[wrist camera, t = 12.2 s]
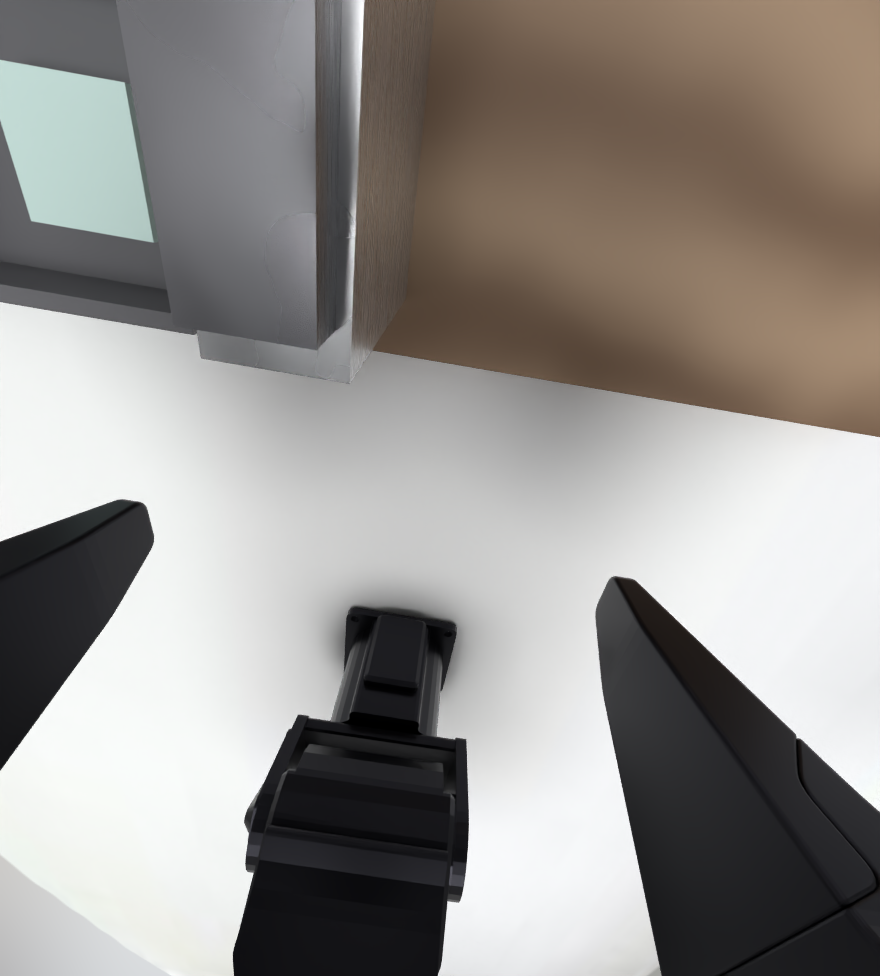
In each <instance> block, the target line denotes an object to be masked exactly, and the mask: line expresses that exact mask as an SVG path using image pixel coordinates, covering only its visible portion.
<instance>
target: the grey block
mask: <svg viewBox="0 0 880 976" xmlns="http://www.w3.org/2000/svg"><path fill="white" fill-rule="evenodd" d="M435 1H436V0H116V4H117V10H118V16H119V21H120V27H121V33H122V38H123V44H124V50H125V55H126V61H127V67H128V72H129V78H130V84H131V89H132V95H133V100H134V106H135V112H136V117H137V123H138V129H139V134H140V140H141V146H142V151H143V157H144V163H145V168H146V174H147V180H148V185H149V191H150V196H151V202H152V208H153V213H154V219H155V225H156V230H157V236H158V242H159V247H160V253H161V259H162V264H163V270H164V276H165V281H166V287H167V292H168V298H169V304H170V309H171V315H172V321H173V326H177V327H183V328H189V329H195V330H197V334H198V341H199V347H200V354H201V358H202V359H208V360H214V361H220V362H226V363H231V364H237V365H243V366H249V367H255V368H261V369H267V370H273V371H278V372H284V373H290V374H296V375H302V376H308V377H314V378H319V379H325V380H331V381H337V382H343V383H349V384H350V382H351V381H352V379H353V378H354V376H355V375H356V373H357V372H358V370H359V369H360V367H361V366H362V364H363V363H364V361H365V360H366V358H367V357H368V355H369V354H370V352H371V351H372V349H373V348H374V346H375V345H376V343H377V342H378V340H379V339H380V337H381V336H382V334H383V333H384V331H385V330H386V328H387V327H388V325H389V324H390V322H391V321H392V319H393V317H394V316H395V314H396V313H397V311H398V310H399V308H400V307H401V305H402V304H403V302H404V301H405V299H406V292H407V282H408V272H409V262H410V252H411V242H412V232H413V222H414V212H415V202H416V192H417V182H418V172H419V162H420V152H421V141H422V131H423V121H424V111H425V101H426V91H427V81H428V71H429V61H430V51H431V41H432V31H433V21H434V11H435Z"/></svg>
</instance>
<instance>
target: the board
mask: <svg viewBox="0 0 880 976" xmlns="http://www.w3.org/2000/svg"><path fill="white" fill-rule="evenodd" d="M372 350H373V351H379V352H385V353H390V354H396V355H402V356H408V357H414V358H420V359H426V360H431V361H437V362H443V363H449V364H455V365H461V366H467V367H472V368H478V369H484V370H490V371H496V372H502V373H508V374H513V375H519V376H525V377H531V378H537V379H543V380H549V381H554V382H560V383H566V384H572V385H578V386H584V387H590V388H595V389H601V390H607V391H613V392H619V393H625V394H631V395H636V396H642V397H648V398H654V399H660V400H666V401H672V402H677V403H683V404H689V405H695V406H701V407H707V408H713V409H718V410H724V411H730V412H736V413H742V414H748V415H754V416H759V417H765V418H771V419H777V420H783V421H789V422H794V423H800V424H806V425H812V426H818V427H824V428H830V429H835V430H841V431H847V432H853V433H859V434H865V435H871V436H876V437H880V0H436V1H435V11H434V21H433V31H432V41H431V51H430V61H429V71H428V81H427V91H426V101H425V111H424V121H423V131H422V141H421V152H420V162H419V172H418V182H417V192H416V202H415V212H414V222H413V232H412V242H411V252H410V262H409V272H408V282H407V292H406V299H405V301H404V302H403V304H402V305H401V307H400V308H399V310H398V311H397V313H396V314H395V316H394V317H393V319H392V321H391V322H390V324H389V325H388V327H387V328H386V330H385V331H384V333H383V334H382V336H381V337H380V339H379V340H378V342H377V343H376V345H375V346H374V348H373V349H372Z"/></svg>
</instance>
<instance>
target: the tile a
mask: <svg viewBox="0 0 880 976" xmlns="http://www.w3.org/2000/svg"><path fill="white" fill-rule="evenodd" d="M0 121H1V124H2V128H3V131H4V134H5V137H6V141H7V144H8V147H9V150H10V154H11V157H12V160H13V163H14V167H15V170H16V173H17V176H18V180H19V183H20V186H21V189H22V193H23V196H24V199H25V202H26V206H27V209H28V212H29V215H30V219H31V221H34V222H39V223H45V224H51V225H57V226H62V227H68V228H74V229H79V230H85V231H91V232H96V233H102V234H108V235H113V236H119V237H125V238H130V239H136V240H142V241H147V242H153V243H154V242H158V236H157V230H156V225H155V219H154V213H153V208H152V202H151V196H150V191H149V185H148V180H147V174H146V168H145V163H144V157H143V151H142V146H141V140H140V134H139V129H138V123H137V117H136V112H135V106H134V100H133V95H132V89H131V84H128V83H125V82H119V81H114V80H108V79H103V78H97V77H92V76H86V75H81V74H75V73H70V72H64V71H59V70H53V69H48V68H42V67H37V66H31V65H26V64H20V63H15V62H9V61H4V60H0Z"/></svg>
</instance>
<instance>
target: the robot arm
mask: <svg viewBox="0 0 880 976" xmlns="http://www.w3.org/2000/svg"><path fill="white" fill-rule="evenodd" d="M153 543H154V534H153V530H152V526H151V522H150V518H149V514H148V510H147V507H146V506H145V505H144V504H143V503H141V502H137V501H131V500H125V499H120V500H116V501H113V502H110V503H107V504H104V505H102V506H99V507H96V508H93V509H90V510H88V511H85V512H82V513H79V514H76V515H74V516H71V517H68V518H65V519H62V520H60V521H57V522H54V523H51V524H48V525H46V526H43V527H40V528H37V529H34V530H31V531H29V532H26V533H23V534H20V535H17V536H15V537H12V538H9V539H6V540H3V541H1V542H0V770H1V769H2V768H3V766H4V765H5V764H6V762H7V761H8V759H9V758H10V757H11V755H12V754H13V753H14V751H15V750H16V748H17V747H18V746H19V744H20V743H21V742H22V740H23V739H24V737H25V736H26V735H27V733H28V732H29V730H30V729H31V728H32V726H33V725H34V724H35V722H36V721H37V719H38V718H39V717H40V715H41V714H42V713H43V711H44V710H45V708H46V707H47V706H48V704H49V703H50V702H51V700H52V699H53V697H54V696H55V695H56V693H57V692H58V691H59V689H60V688H61V686H62V685H63V684H64V682H65V681H66V679H67V678H68V677H69V675H70V674H71V673H72V671H73V670H74V668H75V667H76V666H77V664H78V663H79V662H80V660H81V659H82V657H83V656H84V655H85V653H86V652H87V651H88V649H89V648H90V646H91V645H92V644H93V642H94V641H95V640H96V638H97V637H98V635H99V634H100V633H101V631H102V630H103V629H104V627H105V626H106V624H107V623H108V621H109V620H110V618H111V617H112V615H113V614H114V612H115V611H116V609H117V607H118V606H119V604H120V602H121V601H122V599H123V597H124V595H125V594H126V592H127V590H128V589H129V587H130V585H131V583H132V582H133V580H134V578H135V576H136V575H137V573H138V571H139V569H140V568H141V566H142V564H143V563H144V561H145V559H146V557H147V556H148V554H149V552H150V550H151V548H152V546H153ZM596 628H597V639H598V649H599V660H600V671H601V681H602V689H603V696H604V701H605V706H606V711H607V716H608V721H609V725H610V730H611V735H612V740H613V745H614V749H615V754H616V759H617V764H618V769H619V773H620V778H621V783H622V788H623V793H624V797H625V802H626V807H627V812H628V817H629V821H630V826H631V831H632V836H633V841H634V845H635V850H636V855H637V860H638V865H639V869H640V874H641V879H642V884H643V889H644V893H645V898H646V903H647V908H648V913H649V917H650V922H651V927H652V932H653V937H654V941H655V946H656V951H657V956H658V961H659V965H660V970H661V975H662V976H880V812H879V811H878V810H877V809H876V808H874V807H873V806H872V805H871V804H870V803H869V802H868V801H867V800H865V799H864V798H863V797H862V796H861V795H860V794H859V793H858V792H857V791H856V790H854V789H853V788H852V787H851V786H850V785H849V784H848V783H847V782H846V781H845V780H844V779H843V778H842V777H840V776H839V775H838V774H837V773H836V772H835V771H834V770H833V769H832V768H831V767H830V766H829V765H828V764H827V763H825V762H824V761H823V760H822V759H821V758H820V757H819V756H818V755H817V754H816V753H815V752H814V751H813V750H812V749H811V748H810V747H809V746H808V745H807V744H806V743H805V742H804V741H802V740H801V739H799V738H797V739H796V734H795V733H794V732H793V731H792V730H791V729H790V728H789V727H788V726H787V725H786V724H785V723H783V722H782V721H781V720H780V719H779V718H778V717H777V716H776V715H775V714H774V713H773V712H772V711H771V710H770V709H769V708H768V707H767V706H766V705H765V704H764V703H763V702H762V701H761V700H760V699H758V698H757V697H756V696H755V695H754V694H753V693H752V692H751V691H750V690H749V689H748V688H747V687H746V686H745V685H744V684H743V683H742V682H741V681H740V680H739V679H738V678H737V677H736V676H734V675H733V674H732V673H731V672H730V671H729V670H728V669H727V668H726V667H725V666H724V665H723V664H722V663H721V662H720V661H719V660H718V659H717V658H716V657H715V656H714V655H713V654H712V653H711V652H709V651H708V650H707V649H706V648H705V647H704V646H703V645H702V644H701V643H700V642H699V641H698V640H697V639H696V638H695V637H694V636H693V635H692V634H691V633H690V632H689V631H688V630H687V629H685V628H684V627H683V626H682V625H681V624H680V623H679V622H678V621H677V620H676V619H675V618H674V617H673V616H672V615H671V614H670V613H669V612H668V611H667V610H666V609H665V608H664V607H663V606H661V605H660V604H659V603H658V602H657V601H656V600H655V599H654V598H653V597H652V596H651V595H650V594H649V593H648V592H647V591H646V590H645V589H644V588H643V587H642V586H641V585H640V584H639V583H638V582H636V581H635V580H633V579H630V578H624V577H618V576H614V577H611V578H610V579H609V581H608V583H607V585H606V587H605V589H604V591H603V593H602V596H601V598H600V600H599V602H598V604H597V607H596ZM456 633H457V628H456V626H455V625H454V624H451V623H446V622H440V621H434V620H428V619H421V618H415V617H409V616H403V615H397V614H391V613H384V612H378V611H372V610H366V609H360V608H352V609H350V610H349V612H348V615H347V618H346V640H345V661H344V675H343V679H342V682H341V686H340V689H339V693H338V696H337V700H336V703H335V707H334V710H333V714H332V717H331V721H326V720H320V719H313V718H309V716H306V715H298V716H297V718H296V720H295V723H294V725H293V727H292V729H289V730H288V732H287V734H286V737H285V739H284V741H283V743H282V745H281V747H280V749H279V752H278V754H277V756H276V758H275V760H274V762H273V765H272V767H271V769H270V771H269V773H268V775H267V777H266V780H265V782H264V784H263V785H262V787H261V788H260V790H259V792H258V793H257V795H256V796H255V798H254V800H253V801H252V803H251V804H250V806H249V808H248V810H247V812H246V815H245V820H244V823H245V826H246V828H247V830H248V832H249V837H248V845H247V852H246V863H245V865H246V870H247V871H248V872H252V873H254V874H253V878H252V882H251V886H250V890H249V894H248V898H247V902H246V906H245V910H244V914H243V918H242V922H241V926H240V930H239V933H238V937H237V940H236V943H235V947H234V951H233V968H234V976H438V972H439V970H440V967H441V962H442V953H443V942H444V932H445V921H446V910H447V901H451V902H459V901H460V899H461V896H462V892H463V887H464V880H465V873H466V864H467V852H468V832H469V809H468V778H467V748H466V739H462V738H455V739H448V738H441V737H436V736H437V724H438V712H439V701H440V691H442V689H443V685H444V681H445V677H446V674H447V670H448V666H449V662H450V658H451V654H452V650H453V647H454V643H455V639H456Z"/></svg>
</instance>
